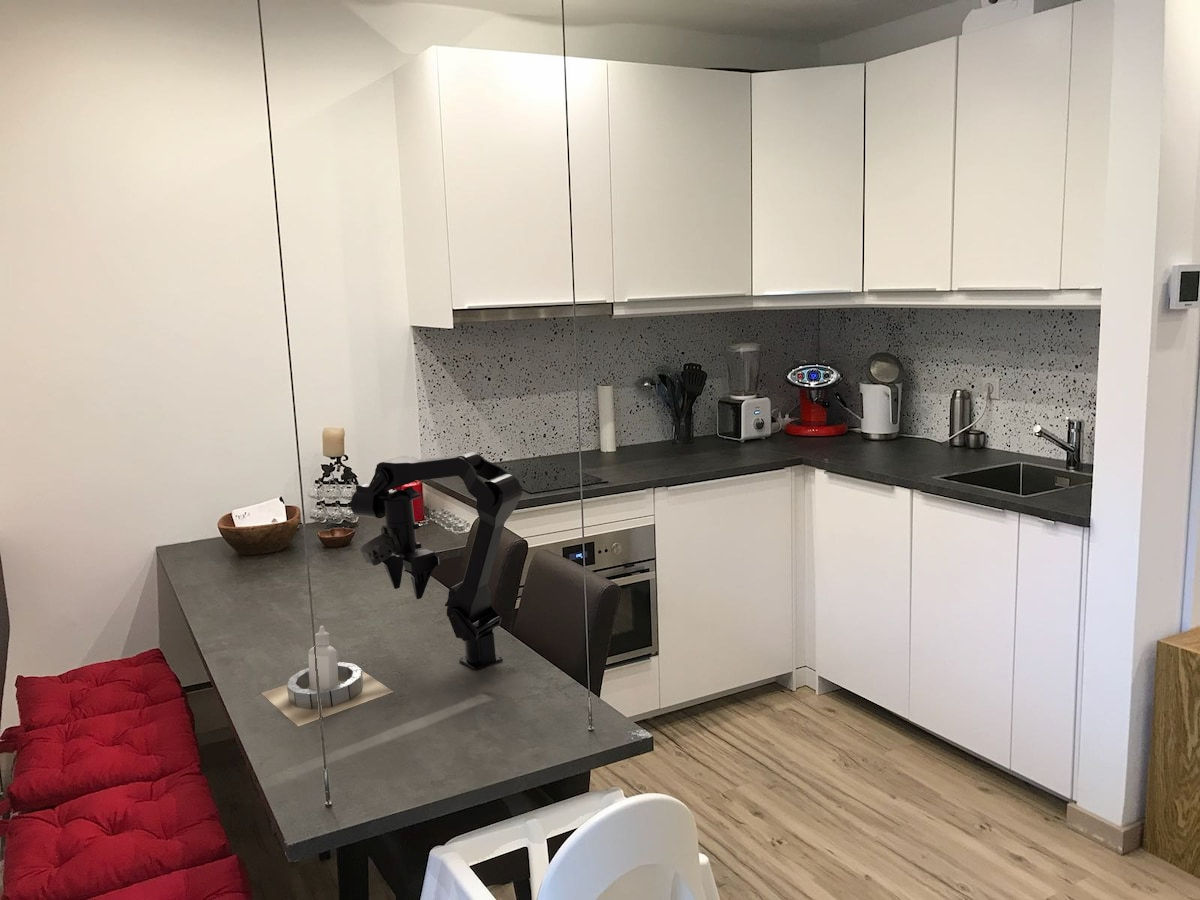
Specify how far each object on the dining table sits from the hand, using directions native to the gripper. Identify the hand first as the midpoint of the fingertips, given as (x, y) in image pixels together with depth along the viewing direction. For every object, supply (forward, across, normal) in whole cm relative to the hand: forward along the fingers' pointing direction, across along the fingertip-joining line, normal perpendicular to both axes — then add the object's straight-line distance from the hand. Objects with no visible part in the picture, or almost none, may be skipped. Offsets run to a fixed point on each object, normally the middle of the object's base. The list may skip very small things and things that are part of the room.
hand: (407, 593), depth 192 cm
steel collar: (+11, +8, -23) cm, 27 cm away
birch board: (+12, +8, -23) cm, 27 cm away
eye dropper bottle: (+11, +8, -23) cm, 27 cm away
